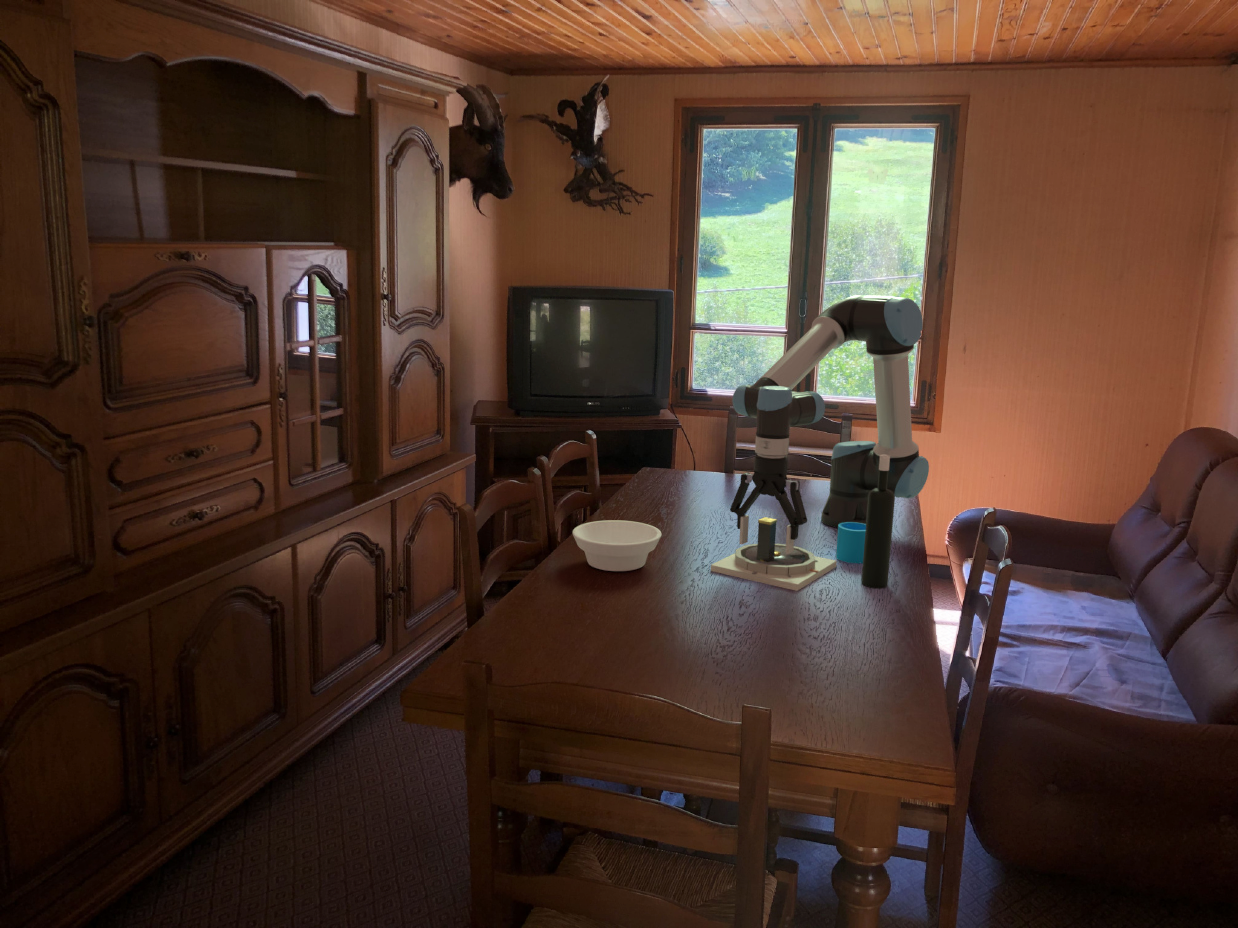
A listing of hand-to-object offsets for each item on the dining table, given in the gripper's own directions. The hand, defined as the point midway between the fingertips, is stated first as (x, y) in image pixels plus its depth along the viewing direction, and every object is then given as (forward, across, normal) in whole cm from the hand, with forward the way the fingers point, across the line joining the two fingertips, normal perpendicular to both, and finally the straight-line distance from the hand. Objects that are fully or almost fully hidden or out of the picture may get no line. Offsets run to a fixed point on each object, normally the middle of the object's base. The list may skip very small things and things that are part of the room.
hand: (766, 547), depth 222 cm
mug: (+7, +11, +27) cm, 30 cm away
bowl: (+7, -31, -16) cm, 36 cm away
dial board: (+6, 0, +5) cm, 8 cm away
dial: (+4, 0, +5) cm, 7 cm away
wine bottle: (+7, +23, +9) cm, 26 cm away
